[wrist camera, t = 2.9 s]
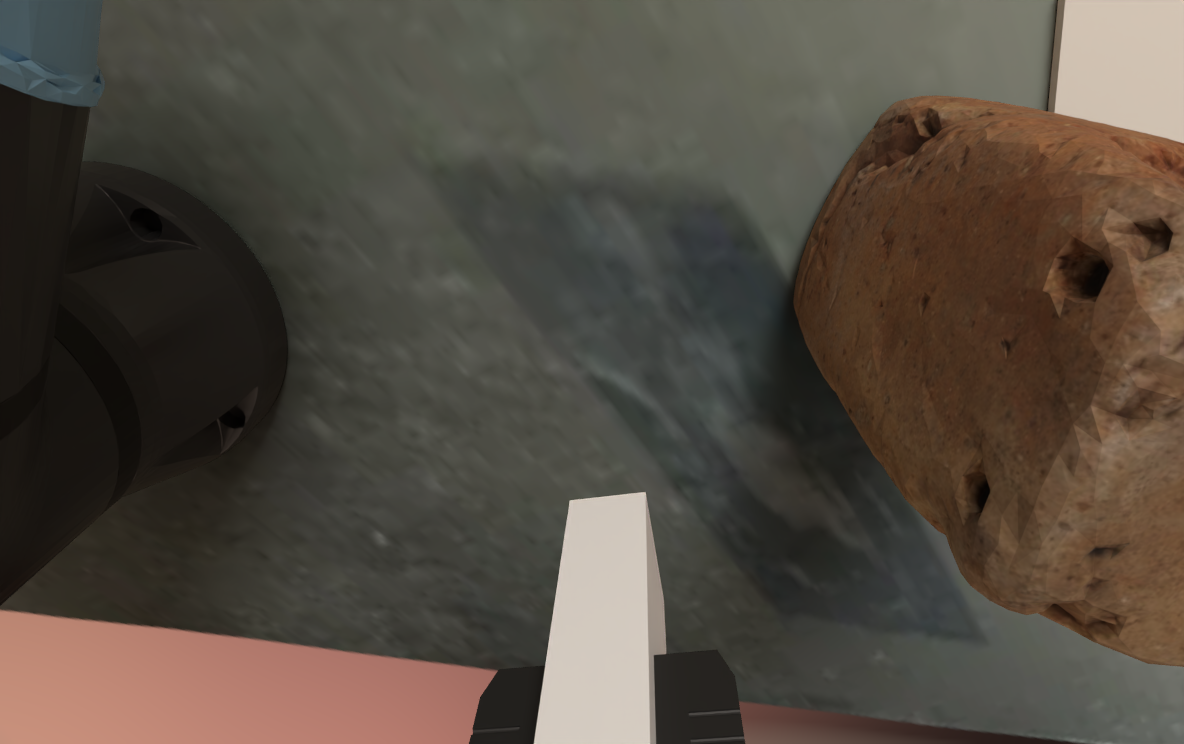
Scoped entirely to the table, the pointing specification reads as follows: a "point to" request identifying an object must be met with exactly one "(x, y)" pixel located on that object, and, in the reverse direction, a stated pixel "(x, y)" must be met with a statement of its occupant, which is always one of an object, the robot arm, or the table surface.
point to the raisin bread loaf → (1018, 352)
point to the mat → (1120, 64)
